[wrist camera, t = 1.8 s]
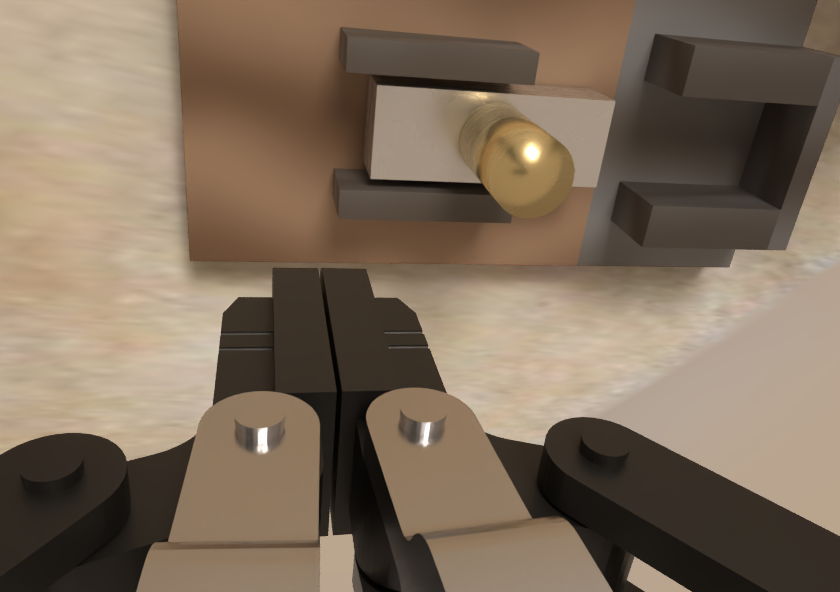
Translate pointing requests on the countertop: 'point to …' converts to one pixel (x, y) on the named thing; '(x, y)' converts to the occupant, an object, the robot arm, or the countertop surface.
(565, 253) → the door board
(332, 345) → the robot arm
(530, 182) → the lock bolt
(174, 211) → the countertop surface
